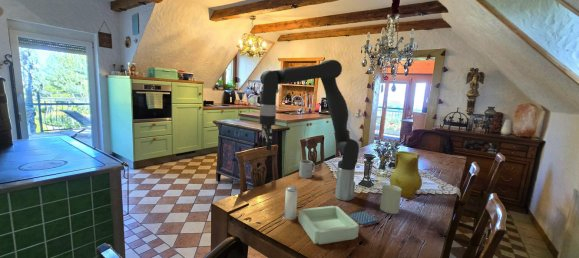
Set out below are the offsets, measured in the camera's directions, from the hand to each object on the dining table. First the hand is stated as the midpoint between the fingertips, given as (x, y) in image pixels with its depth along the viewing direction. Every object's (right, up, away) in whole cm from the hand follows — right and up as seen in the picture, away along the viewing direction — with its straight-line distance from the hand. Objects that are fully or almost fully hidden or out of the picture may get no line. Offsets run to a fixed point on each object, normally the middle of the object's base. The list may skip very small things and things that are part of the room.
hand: (266, 147), depth 123 cm
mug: (+23, -23, +52) cm, 61 cm away
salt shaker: (+11, -31, -5) cm, 34 cm away
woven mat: (+45, -34, -4) cm, 56 cm away
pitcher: (+79, -29, +30) cm, 90 cm away
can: (+62, -32, +8) cm, 70 cm away
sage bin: (+27, -33, -14) cm, 45 cm away
